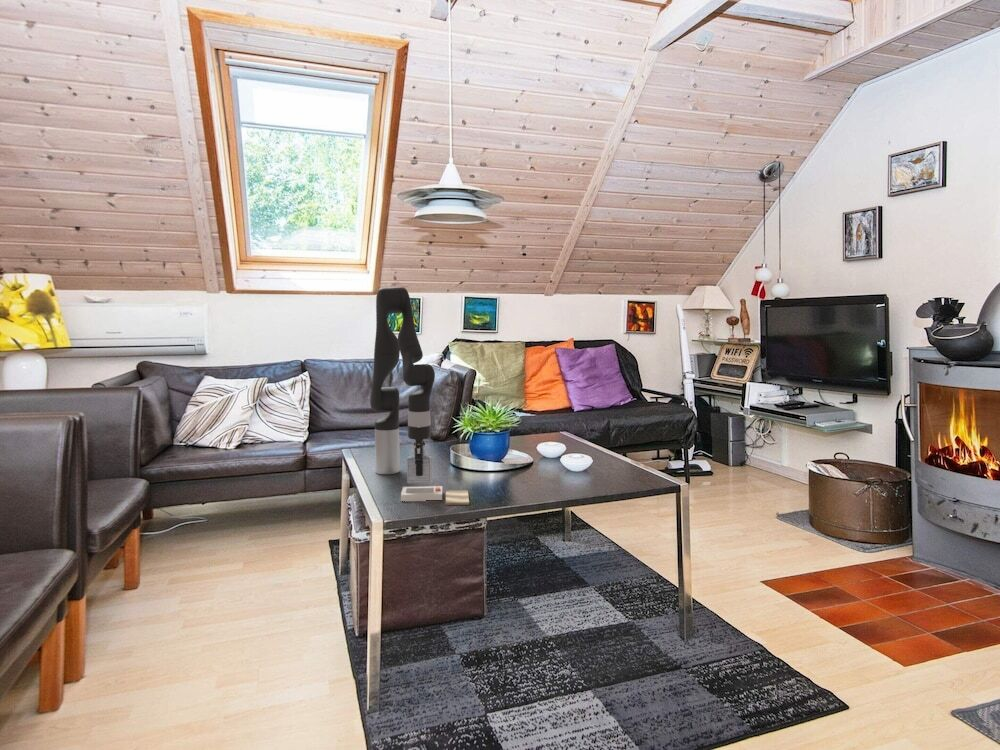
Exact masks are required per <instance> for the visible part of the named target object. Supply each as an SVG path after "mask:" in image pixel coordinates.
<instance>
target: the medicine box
mask: <svg viewBox="0 0 1000 750" xmlns="http://www.w3.org/2000/svg"><path fill="white" fill-rule="evenodd" d="M432 458H433V456H432V455H424V458H423V475H422V476H416V465H415V458H414V455H409V456H408V457H407V458H406V467H407V468H406V471H407V472H406V474H407V477H406V478H407V483H406V484H431V483H432V481H433V470H432V469H433V468H432V467H433V466H432V465H433V464H432V463H433V462H432V460H433V459H432ZM417 461H421V458H417Z"/></svg>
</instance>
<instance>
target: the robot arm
mask: <svg viewBox="0 0 1000 750" xmlns="http://www.w3.org/2000/svg"><path fill="white" fill-rule="evenodd" d="M375 309H376V310H375V313H376V314H375V316H376V319H375V321H376V326H375V338H374V339H375V341H374V349H373V351H374V352H373V374H372V380H371V381H372V382H371V383H372V384H371V389H370V390H371V391H370V396H369V398H370V399H369V400H370V403H369V404H370V408H371V410H372V411H373V412H389V413H388V414H387V415H386V416H384V417H382V418H379V419H377V420H376V421H375V422H374V442H375V443H374V450H375V451H374V452H375V453H374V454H375V455H374V456H375V458H374V459H375V461H374V462H375V463H374V464H375V473H376V474H378V475H393V474H398V473H399V472H400V391H399V389H398V388H397V387H396V386H387V387H386V386H383V384H384V383H385V380H386V379H387V378H388V376H389V375H390V374H392V372H393V370H394V369H395V368H396V367H397V365H398V363H399V360H400V355H401V360H402V379H403V382H404V384H406V385H407V386H408V387H416V386H418V387H419V386H420V388H419V390H416V391H415V392H412V393H410V394H409V395H408V414H407V437H408V439H410V440H415V442H413V445H412V446H413V447H412V448H413V456H414V458H415V465H416V476H422V475H423V458H424V456H426V442H425V441H424V440H428V439H430V438H431V436H432V432H431V429H432V427H431V425H432V423H431V421H432V420H431V412H430V410H431V407H430V405H431V402H430V401H431V394H432V390H433V385H434V383H435V378H436V373H435V369H434V367H433V366H432V365H431V364H430V363H429V364H428V363H422V364H415V363H417V362H420V361H421V360H422V359H423V355H424V354H423V350H422V347H421V344H420V341H419V339H418V335H417V330H416V325H415V319H414V313H413V307H412V303H411V298H410V294H409V291H408V289H406V287H404V286H389V287H380V288H378V289H377V293H376V299H375ZM389 314H402V317H403V318H402V324H401V327H400V329H399V331H398V334H397V335H396V334H395V333H394V331H393V329H392V328H391V327H390V324H389V321H388V315H389ZM417 458H421V461H417Z"/></svg>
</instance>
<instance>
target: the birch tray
mask: <svg viewBox="0 0 1000 750" xmlns="http://www.w3.org/2000/svg"><path fill="white" fill-rule="evenodd" d="M469 498H470V496H469V491H468V489H466V490H445V506H466V505H467V506H468V505H470V499H469Z"/></svg>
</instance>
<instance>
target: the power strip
mask: <svg viewBox="0 0 1000 750" xmlns="http://www.w3.org/2000/svg"><path fill="white" fill-rule="evenodd" d="M432 484H433V485H429V486H402V489H401V492H400V502H402V501H403V502H404V501H405V502H427V501H426V500H442V501H443V485H438V486H437V483H432Z"/></svg>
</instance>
